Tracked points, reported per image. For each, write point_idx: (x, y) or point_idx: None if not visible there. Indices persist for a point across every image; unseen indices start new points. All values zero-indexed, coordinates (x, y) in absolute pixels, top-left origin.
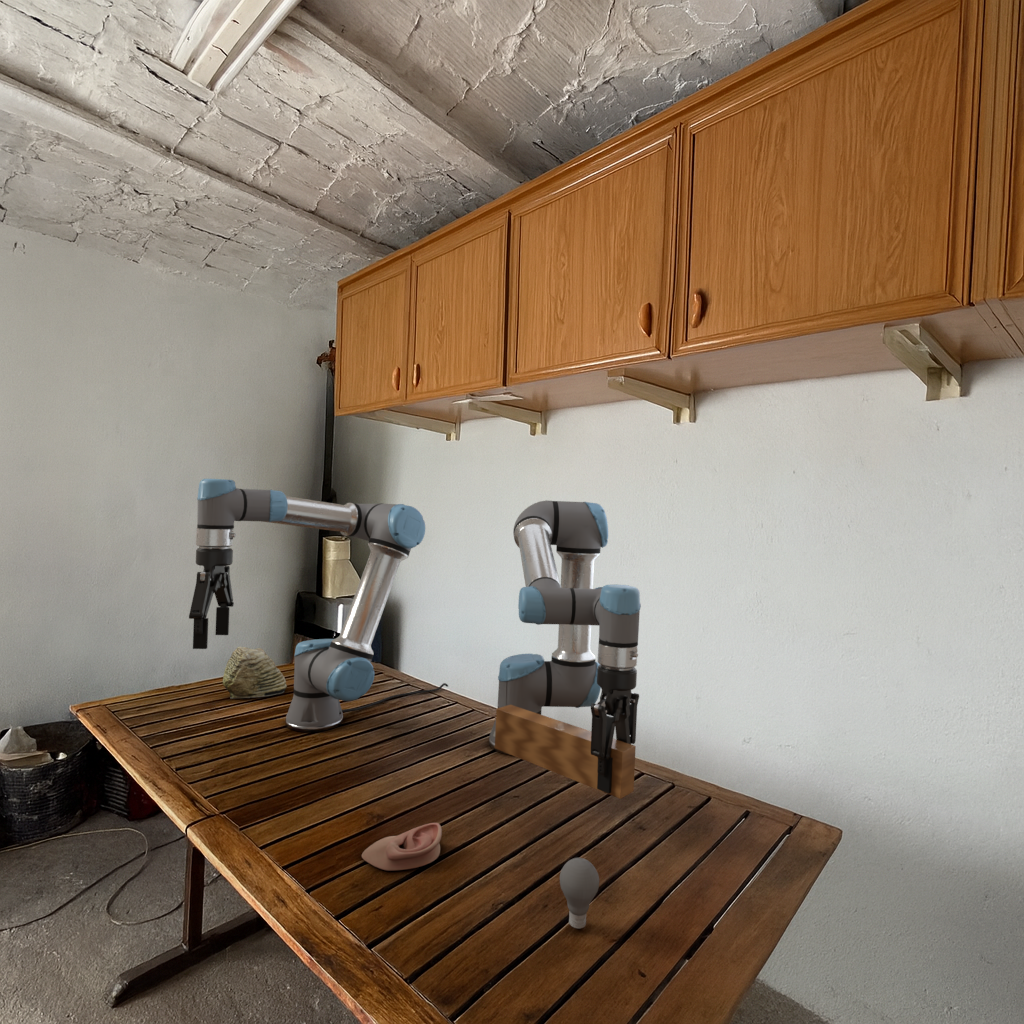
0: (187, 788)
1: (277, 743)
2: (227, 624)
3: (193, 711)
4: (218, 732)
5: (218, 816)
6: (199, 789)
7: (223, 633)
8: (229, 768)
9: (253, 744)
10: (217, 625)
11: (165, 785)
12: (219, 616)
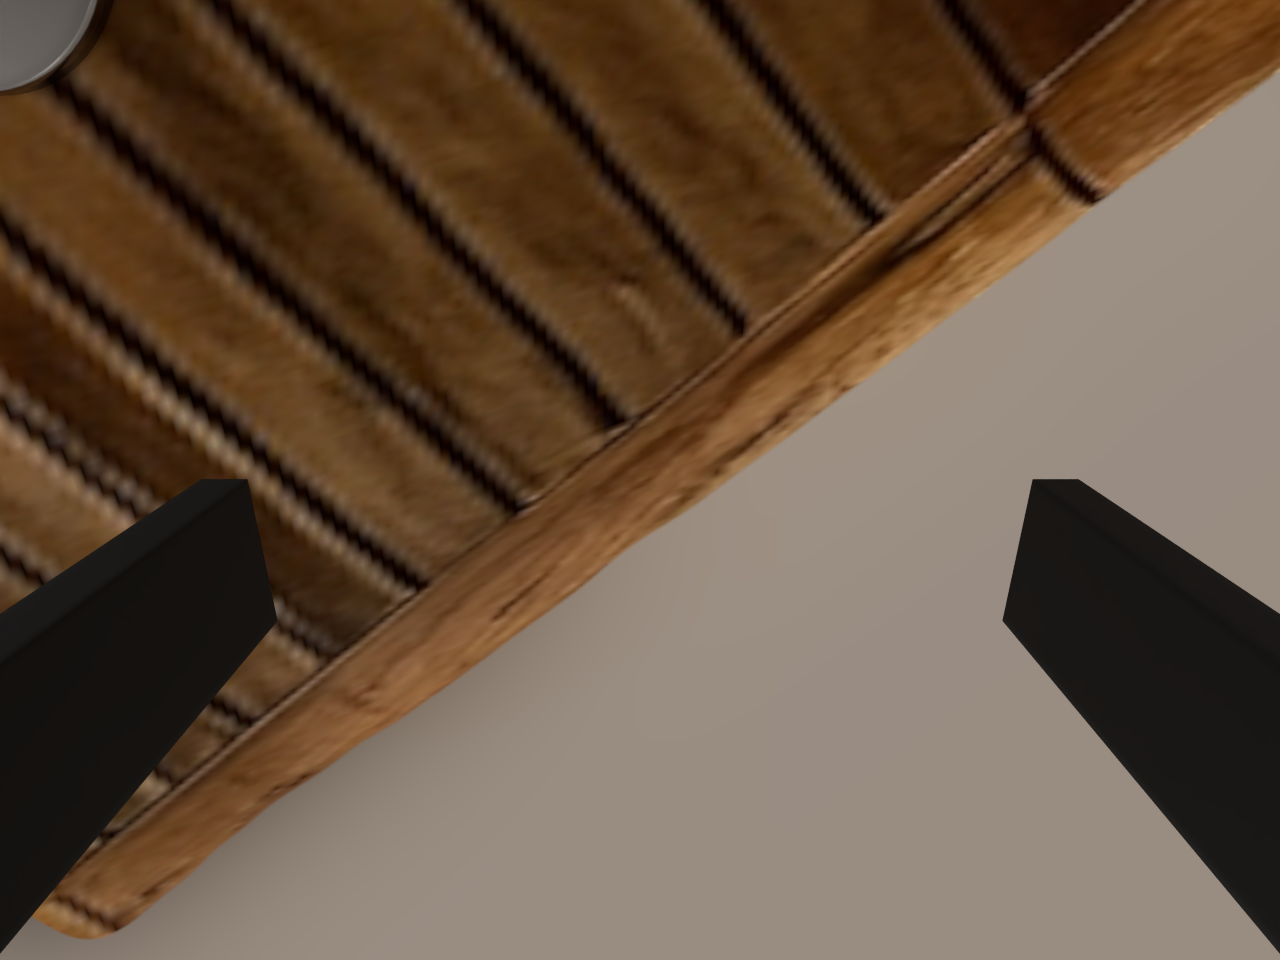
0: (788, 320)
1: (298, 65)
2: (149, 556)
3: (6, 587)
4: (219, 399)
5: (1048, 109)
6: (801, 271)
7: (245, 539)
8: (605, 216)
9: (330, 190)
10: (202, 682)
11: (756, 409)
12: (95, 770)
